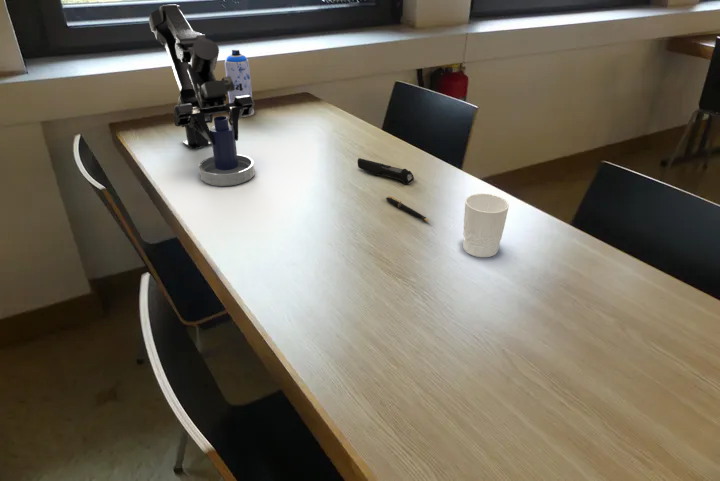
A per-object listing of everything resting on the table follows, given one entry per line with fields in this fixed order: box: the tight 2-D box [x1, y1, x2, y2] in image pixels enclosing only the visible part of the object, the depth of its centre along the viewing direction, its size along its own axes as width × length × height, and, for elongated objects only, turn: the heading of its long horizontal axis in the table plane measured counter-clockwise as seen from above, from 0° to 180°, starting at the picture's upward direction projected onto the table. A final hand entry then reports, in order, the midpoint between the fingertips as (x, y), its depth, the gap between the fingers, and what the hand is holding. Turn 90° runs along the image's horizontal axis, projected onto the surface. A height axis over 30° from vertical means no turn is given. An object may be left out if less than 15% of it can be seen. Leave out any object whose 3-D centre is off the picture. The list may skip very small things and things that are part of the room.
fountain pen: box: [385, 195, 430, 222], centre depth 116 cm, size 14×1×2 cm, turn 38°
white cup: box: [462, 193, 510, 258], centre depth 101 cm, size 8×8×10 cm
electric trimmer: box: [357, 157, 415, 185], centre depth 132 cm, size 4×16×3 cm, turn 55°
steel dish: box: [198, 153, 256, 187], centre depth 131 cm, size 13×13×3 cm
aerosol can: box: [224, 49, 255, 118], centre depth 170 cm, size 8×8×20 cm
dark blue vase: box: [209, 115, 238, 170], centre depth 128 cm, size 6×6×12 cm
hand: (225, 142), depth 126 cm, fingers closed on dark blue vase, 5 cm apart
